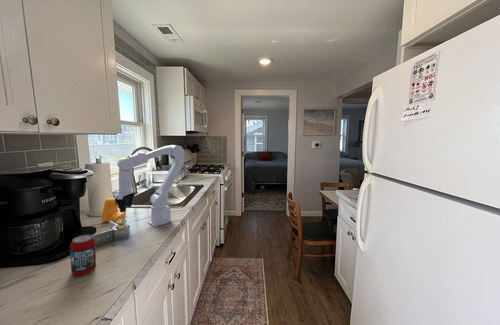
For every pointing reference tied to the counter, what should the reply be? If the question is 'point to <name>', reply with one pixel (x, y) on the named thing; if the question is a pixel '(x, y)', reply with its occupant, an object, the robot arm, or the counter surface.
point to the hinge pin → (121, 223)
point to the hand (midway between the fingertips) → (126, 209)
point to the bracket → (111, 211)
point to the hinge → (112, 234)
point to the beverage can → (83, 255)
